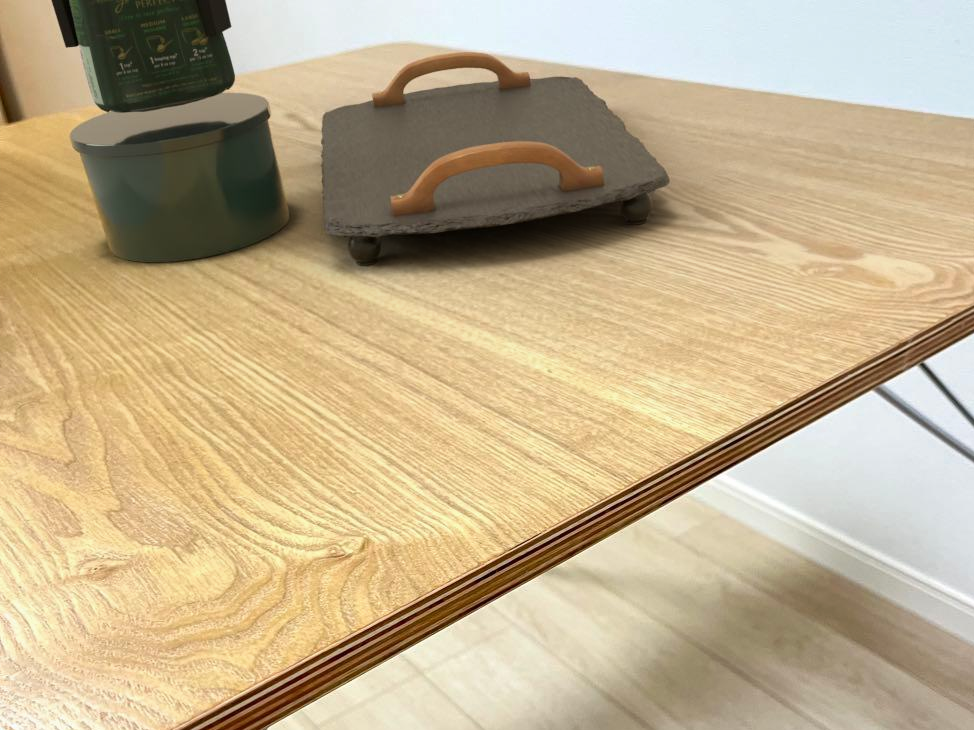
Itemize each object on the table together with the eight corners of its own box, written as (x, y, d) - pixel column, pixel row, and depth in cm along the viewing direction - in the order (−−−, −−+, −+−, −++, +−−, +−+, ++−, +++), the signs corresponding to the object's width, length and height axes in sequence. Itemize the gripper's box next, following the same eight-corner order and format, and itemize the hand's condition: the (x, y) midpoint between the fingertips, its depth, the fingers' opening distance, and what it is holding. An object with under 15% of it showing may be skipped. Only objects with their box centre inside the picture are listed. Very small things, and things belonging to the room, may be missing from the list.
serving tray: (326, 136, 103) (311, 63, 99) (578, 101, 105) (572, 28, 101) (329, 289, 71) (308, 189, 67) (692, 234, 73) (689, 134, 69)
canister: (71, 268, 79) (31, 150, 75) (152, 205, 90) (122, 99, 86) (257, 259, 77) (227, 137, 72) (316, 195, 88) (294, 86, 83)
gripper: (242, -414, 65) (322, 13, 77) (-102, -362, 69) (27, 38, 81) (191, -432, 59) (287, 35, 71) (-184, -373, 63) (-30, 61, 75)
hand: (148, 37), depth 76 cm, fingers closed on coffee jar, 9 cm apart
